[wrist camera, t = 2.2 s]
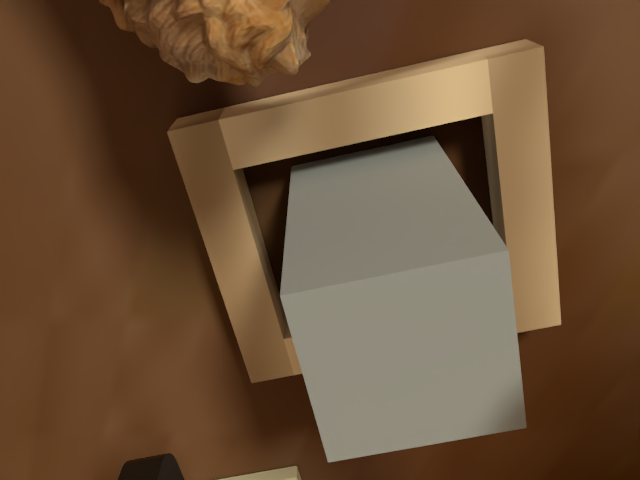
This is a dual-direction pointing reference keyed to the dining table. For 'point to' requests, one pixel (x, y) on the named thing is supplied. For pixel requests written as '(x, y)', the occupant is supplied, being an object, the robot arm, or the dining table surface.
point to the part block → (399, 302)
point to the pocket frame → (363, 125)
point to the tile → (271, 475)
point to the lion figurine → (222, 35)
